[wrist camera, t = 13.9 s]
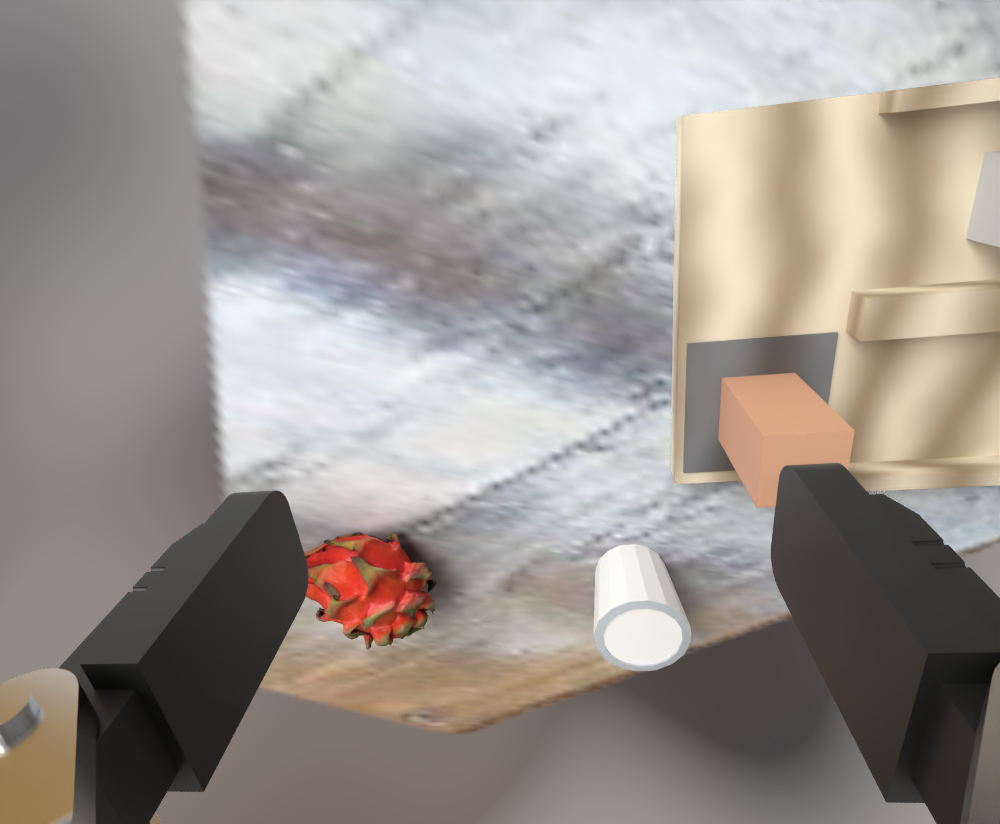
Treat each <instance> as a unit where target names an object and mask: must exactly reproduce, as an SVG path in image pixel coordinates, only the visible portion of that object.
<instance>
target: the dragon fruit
mask: <svg viewBox="0 0 1000 824" xmlns="http://www.w3.org/2000/svg"><path fill="white" fill-rule="evenodd" d="M398 537H399V536H398V535H397V534H394V533H392V534H390V536H388V537H387V538H386V539H387V540H388V541H389V543H385V542H383V541H381V540H379V539H377V538H374V537H370V536H368V535H366V534H363V535H361V534H360V533H354V534H348V535H345V536H337V537H336V538H335V539H334V540H333V541H330V540H325V541H324V544H322V545H321V546H319V547H317V548H315V549H313V550H310V551H308V552H305V553H304V555H305V558H306V561H307V565H308V574H309V578H308V588H307V593H306V597H308V598H309V599H311V600H315V601H317V602H318V603H319V604H321V605H322V607H323V608H324V609H321V608H319V610H318V611H317V613H316V618H317V619H318V620H319V621H323V622H326V621H335V622H338V623H341V624H343V627H344V628H343V633H344V635H345V636H347V637H348V638H350V639H355V638H357V637H358V636H359V635H364V639H365V644H366V649H370V647H371V643H372V641H373V639H374V641H375V643H376V645H378V646H386V645H391V644H392V642H393V639H394V638H401V639H403V638H404V637H405V636H410V635H411V634H412V633H414V632H416V631H418V630H421V629H424V625H425V624H426V622H427V618H428V615H427V613H426V611H427V610H430V611H432V614H433V611H435V608H434V600H433V598H432V597H431V595H429V594H427V593H426V592H424V591H422V589H423V587H424V586H425V584H426V583H428V589H427V590H428V592H429V591H430V590H431V589H433V588H434V586H435V584H436V581H435V580H434V579H433V578H432V577H431V575H432V571H431V570H430V569H429V568H428V567H427V564H426V563H412V562H411V561H410V559H409V557H408V556H407V554H406V553H405V552H404V550H403V549H402V548H401V546H400V542H399V540H398ZM323 615H324V616H323Z"/></svg>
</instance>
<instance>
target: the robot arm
mask: <svg viewBox="0 0 1000 824" xmlns="http://www.w3.org/2000/svg"><path fill="white" fill-rule="evenodd" d="M771 561H772V568H773V573H774V577H775V581H776V584H777V586H778V589H779V591H780V593H781V595H782V597H783V599H784V601H785V603H786V605H787V607H788V609H789V611H790V613H791V615H792V617H793V619H794V621H795V623H796V624H797V627H798V629H799V630H800V632H801V634H802V636H803V638H804V640H805V642H806V644H807V646H808V648H809V650H810V652H811V654H812V656H813V658H814V660H815V662H816V664H817V666H818V668H819V670H820V672H821V674H822V676H823V678H824V680H825V682H826V684H827V686H828V688H829V690H830V692H831V694H832V696H833V698H834V700H835V702H836V704H837V706H838V708H839V710H840V712H841V713H842V715H843V718H844V720H845V721H846V724H847V725H848V727H849V729H850V731H851V733H852V735H853V737H854V739H855V741H856V743H857V745H858V747H859V749H860V751H861V753H862V755H863V757H864V759H865V761H866V763H867V765H868V767H869V769H870V771H871V773H872V775H873V777H874V779H875V781H876V783H877V785H878V787H879V789H880V791H881V793H882V795H883V797H884V798H885V801H886V802H901V803H903V802H904V803H925V804H926V806H927V807H928V809H929V811H930V812H931V814H932V816H933V818H934V820H935V822H936V823H937V824H1000V598H999V597H998V596H997V595H996V594H995V593H994V592H993V591H992V590H991V589H990V588H989V587H988V585H986V583H985V582H984V581H983V580H982V579H981V578H980V577H979V576H978V575H977V574H976V573H975V572H974V571H973V570H972V569H971V568H966V567H965V564H964V561H963V560H962V559H961V558H960V557H959V556H958V555H957V554H956V553H955V551H954V550H953V549H952V548H951V547H950V546H949V545H944V543H943V539H942V538H941V537H940V536H939V535H938V534H937V533H936V532H935V531H934V530H933V529H932V528H931V527H930V526H929V525H928V524H927V523H926V522H925V521H924V520H923V519H922V518H921V516H920V515H918V514H917V513H915V512H913V511H911V510H910V509H908V508H906V507H904V506H903V505H901V504H899V503H897V502H896V501H894V500H892V499H890V498H889V497H887V496H885V495H883V494H875V495H869V493H868V492H867V491H866V490H865V489H864V488H863V487H862V486H861V484H860V483H859V482H858V481H857V480H856V479H855V478H854V477H853V475H852V474H851V473H850V472H849V471H848V470H847V469H846V468H845V467H844V466H843V465H842V464H840V463H823V464H803V465H787V466H784V467H783V468H782V470H781V472H780V476H779V481H778V490H777V499H776V508H775V517H774V526H773V535H772V544H771ZM308 578H309V574H308V565H307V561H306V558H305V555H304V551H303V548H302V545H301V542H300V539H299V535H298V532H297V529H296V526H295V523H294V519H293V516H292V513H291V510H290V507H289V504H288V501H287V499H286V497H285V496H284V494H283V493H281V492H280V491H259V492H240V493H233V494H231V495H229V496H228V497H227V498H226V499H225V501H224V502H223V503H222V504H221V505H220V506H219V507H218V509H217V510H216V511H215V512H214V513H213V514H212V515H211V517H210V518H209V519H208V520H207V521H206V522H205V523H204V524H201V525H200V526H198V527H197V528H195V529H194V530H192V531H191V532H190V533H188V534H187V535H185V536H184V537H182V538H181V539H179V540H178V541H176V542H175V543H173V544H172V545H171V546H170V547H169V548H168V549H167V551H166V552H165V553H164V554H163V555H162V556H161V557H160V558H159V559H158V561H156V563H155V564H154V565H153V566H152V567H151V572H146V573H145V575H144V576H143V577H142V578H141V579H140V580H139V581H138V582H137V583H136V584H135V586H134V587H133V592H128V593H127V594H126V595H125V596H124V598H123V599H122V600H121V601H120V602H119V603H118V604H117V605H116V606H115V607H114V608H113V610H112V611H111V612H110V613H109V614H108V615H107V616H106V617H105V618H104V619H103V620H102V622H101V623H100V624H99V625H98V626H97V627H96V628H95V629H94V630H93V631H92V633H90V635H89V636H88V637H87V638H86V639H85V640H84V641H83V642H82V643H81V644H80V645H79V647H78V648H77V649H76V650H75V651H74V652H73V653H72V654H71V655H70V656H69V658H68V659H67V660H66V661H65V662H64V663H63V664H62V665H61V666H60V667H59V668H58V669H57V668H52V669H43V670H38V671H34V672H30V673H27V674H24V675H21V676H19V677H16V678H14V679H11V680H9V681H7V682H5V683H3V684H1V685H0V824H161V822H160V820H159V818H158V816H157V814H156V813H155V811H156V810H157V808H158V806H159V805H160V803H161V801H162V799H163V798H164V796H165V794H166V793H167V791H180V792H183V791H184V792H185V791H186V792H204V790H205V788H206V786H207V784H208V783H209V781H210V779H211V777H212V775H213V773H214V771H215V769H216V767H217V766H218V764H219V762H220V759H221V758H222V756H223V754H224V752H225V750H226V748H227V746H228V745H229V743H230V741H231V739H232V737H233V735H234V733H235V731H236V729H237V727H238V726H239V723H240V722H241V720H242V718H243V716H244V714H245V712H246V710H247V708H248V706H249V705H250V703H251V701H252V699H253V697H254V695H255V693H256V691H257V689H258V687H259V685H260V684H261V682H262V680H263V678H264V676H265V674H266V672H267V670H268V668H269V666H270V664H271V663H272V661H273V659H274V657H275V655H276V653H277V651H278V649H279V647H280V645H281V644H282V642H283V640H284V638H285V636H286V634H287V632H288V630H289V628H290V626H291V624H292V623H293V621H294V619H295V617H296V615H297V613H298V611H299V609H300V607H301V605H302V603H303V601H304V599H305V596H306V593H307V588H308Z"/></svg>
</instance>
